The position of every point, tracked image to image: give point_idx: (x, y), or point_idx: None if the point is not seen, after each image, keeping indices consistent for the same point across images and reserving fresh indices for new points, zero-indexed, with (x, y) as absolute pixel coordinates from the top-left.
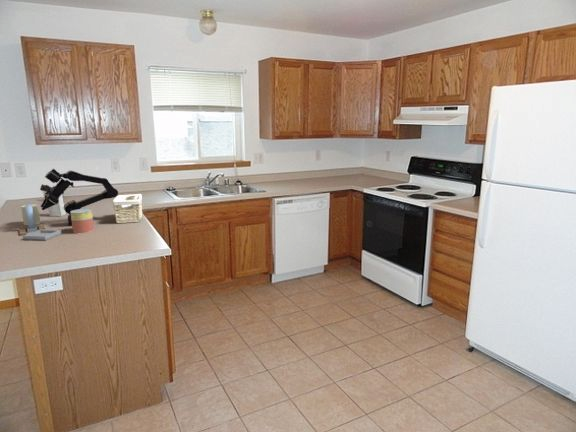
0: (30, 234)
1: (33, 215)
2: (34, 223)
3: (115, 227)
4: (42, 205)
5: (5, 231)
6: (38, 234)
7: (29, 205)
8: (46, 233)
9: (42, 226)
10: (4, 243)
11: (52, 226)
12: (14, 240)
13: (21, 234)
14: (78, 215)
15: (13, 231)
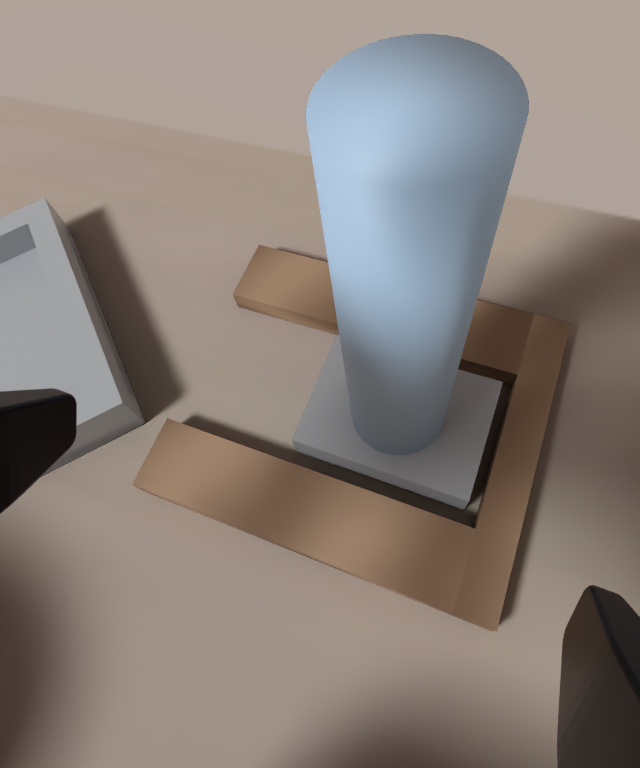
0: (46, 268)
1: (360, 352)
2: (359, 412)
3: None
4: (584, 661)
5: (621, 224)
6: (55, 358)
7: (393, 124)
8: None
9: (418, 571)
10: (123, 119)
11: (403, 741)
12: (135, 183)
13: (255, 262)
14: None
15: (543, 274)
